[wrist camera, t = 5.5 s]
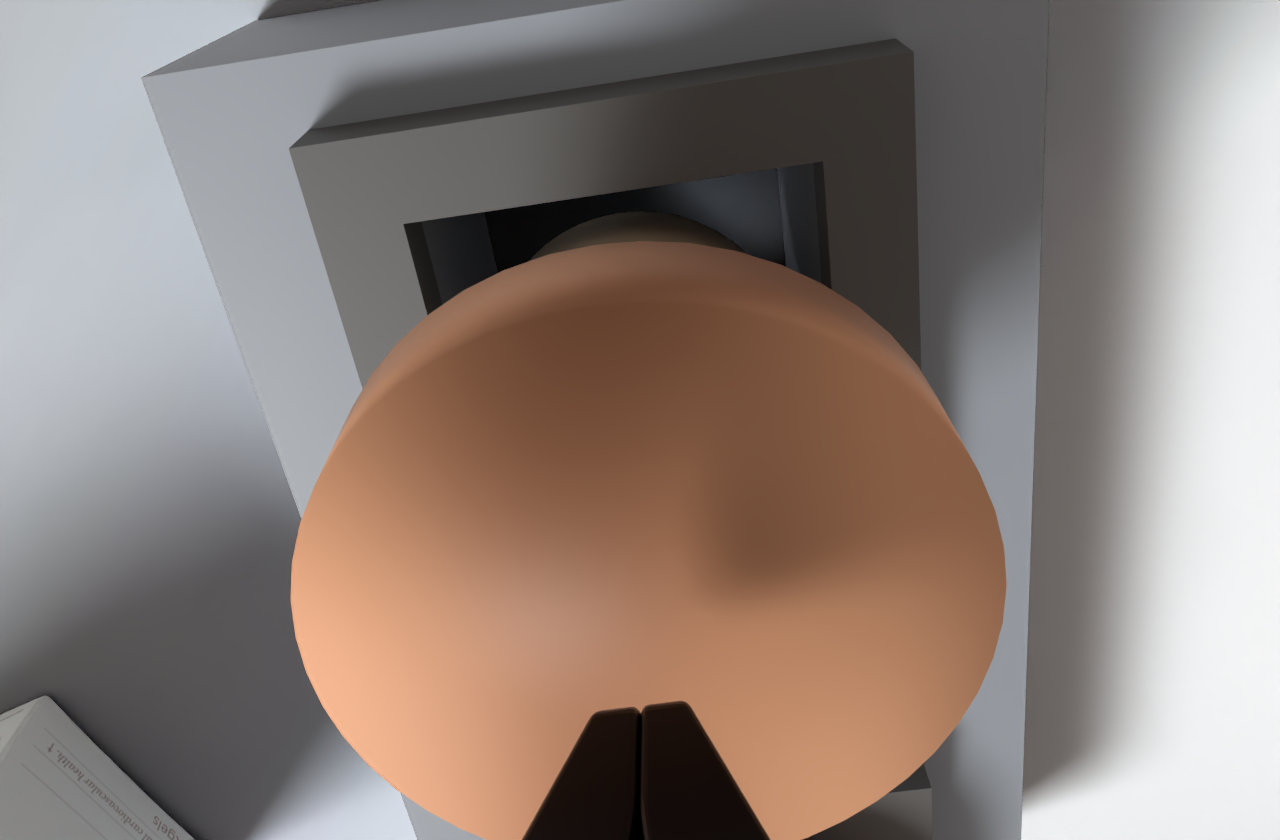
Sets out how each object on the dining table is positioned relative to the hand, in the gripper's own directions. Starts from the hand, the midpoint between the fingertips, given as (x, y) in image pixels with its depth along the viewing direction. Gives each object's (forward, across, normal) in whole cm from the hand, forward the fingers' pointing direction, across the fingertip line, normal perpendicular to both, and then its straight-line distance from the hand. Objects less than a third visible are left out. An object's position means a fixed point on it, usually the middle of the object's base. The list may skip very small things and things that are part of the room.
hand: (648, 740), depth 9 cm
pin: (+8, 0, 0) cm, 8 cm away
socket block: (+13, 0, +6) cm, 14 cm away
